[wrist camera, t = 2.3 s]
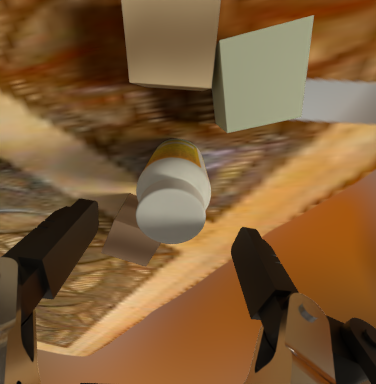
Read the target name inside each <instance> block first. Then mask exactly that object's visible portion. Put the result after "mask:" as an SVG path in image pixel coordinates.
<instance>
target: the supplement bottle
mask: <svg viewBox="0 0 376 384" xmlns="http://www.w3.org/2000/svg"><path fill="white" fill-rule="evenodd" d="M136 193H137V199H138V202H139V203H138V206H137V209H136V221H137V224H138V226H139V228H140V229H141V231H142V232H143V233H144V234H145V235H146V236H148V237H149V238H151V239H153V240H155V241H157V242H161V243H165V244H178V243H182V242H186V241H188V240H190V239H192V238H194V237H195V236H196V235H198V233H199V232H200V231H201V230H202V228H203V226H204V223H205V218H206V214H205V210H206V208H207V207H208V205H209V202H210V198H211V186H210V182H209V179H208V175H207V172H206V169H205V165H204V161H203V158H202V155H201V153H200V151H199V150H198V148H197V147H196V146H195V145H194V144H192V143H191V142H189V141H186V140H183V139H170V140H167V141H165V142H163V143H162V144H160V145H159V146H158V147H157V149H156V150H155V152H154V153H153V155H152V157H151V158H150V160H149V162H148V163H147V165H146V167H145V168H144V170H143V172H142V174H141V175H140V177H139V180H138V183H137V189H136Z"/></svg>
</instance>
